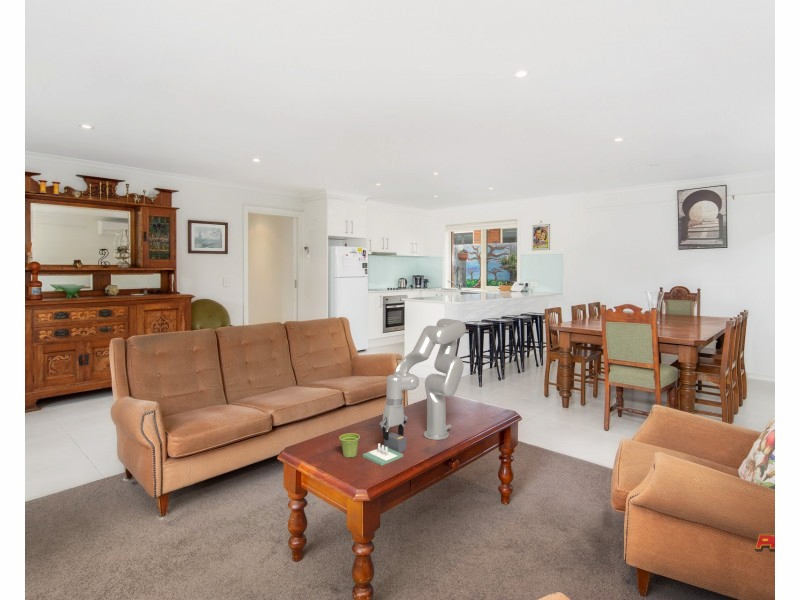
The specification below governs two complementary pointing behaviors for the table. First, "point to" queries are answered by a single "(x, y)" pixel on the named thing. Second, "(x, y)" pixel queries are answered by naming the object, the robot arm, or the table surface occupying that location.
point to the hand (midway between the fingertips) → (393, 437)
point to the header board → (382, 455)
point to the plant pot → (349, 444)
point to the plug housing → (396, 442)
